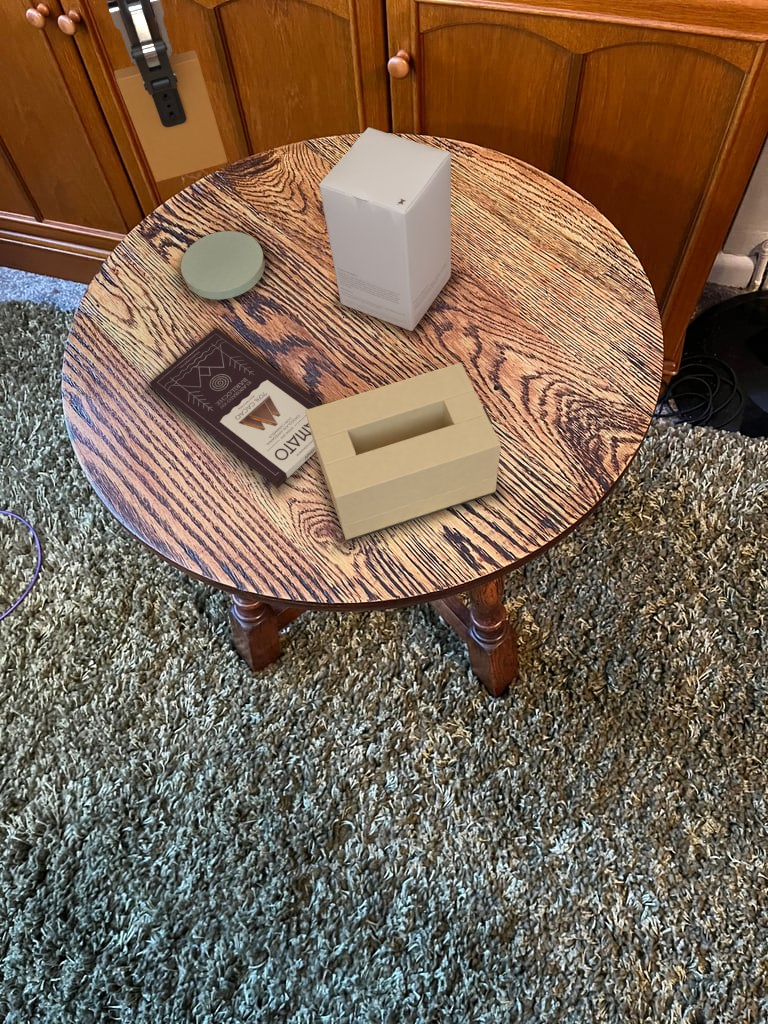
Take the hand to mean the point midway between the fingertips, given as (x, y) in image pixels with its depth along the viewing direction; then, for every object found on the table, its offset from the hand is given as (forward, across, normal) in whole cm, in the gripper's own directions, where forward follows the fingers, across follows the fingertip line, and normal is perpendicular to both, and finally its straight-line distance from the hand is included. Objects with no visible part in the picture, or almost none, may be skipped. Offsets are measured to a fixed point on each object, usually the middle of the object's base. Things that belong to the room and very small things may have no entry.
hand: (172, 116), depth 68 cm
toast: (+5, 0, 0) cm, 5 cm away
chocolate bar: (+18, +19, -2) cm, 26 cm away
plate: (+18, 0, 0) cm, 18 cm away
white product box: (+18, +10, +16) cm, 27 cm away
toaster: (+18, +32, +10) cm, 38 cm away
